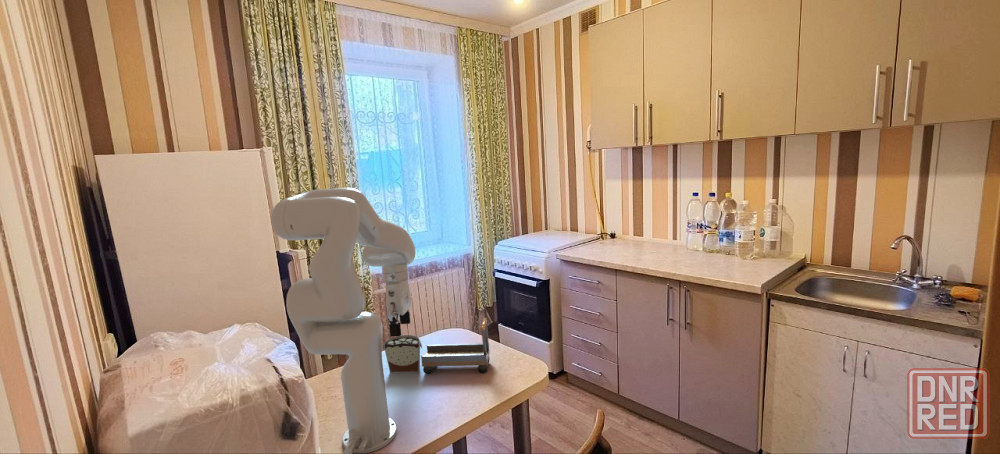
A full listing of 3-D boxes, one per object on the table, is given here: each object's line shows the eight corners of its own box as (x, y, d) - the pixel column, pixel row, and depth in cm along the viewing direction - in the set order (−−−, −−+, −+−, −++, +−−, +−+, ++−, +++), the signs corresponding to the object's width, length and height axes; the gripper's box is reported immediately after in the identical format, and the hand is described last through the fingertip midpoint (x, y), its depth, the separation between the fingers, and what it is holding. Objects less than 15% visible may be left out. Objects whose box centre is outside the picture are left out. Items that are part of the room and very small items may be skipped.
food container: (428, 362, 138) (425, 333, 136) (423, 372, 132) (420, 342, 130) (391, 363, 139) (388, 334, 137) (385, 372, 133) (381, 343, 131)
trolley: (488, 374, 128) (484, 327, 126) (423, 375, 130) (418, 329, 127) (490, 361, 136) (487, 317, 134) (429, 362, 138) (424, 319, 135)
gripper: (398, 283, 120) (404, 340, 123) (415, 268, 137) (419, 319, 140) (373, 284, 121) (379, 341, 123) (392, 269, 138) (397, 319, 140)
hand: (400, 329), depth 131 cm, fingers open, 9 cm apart
